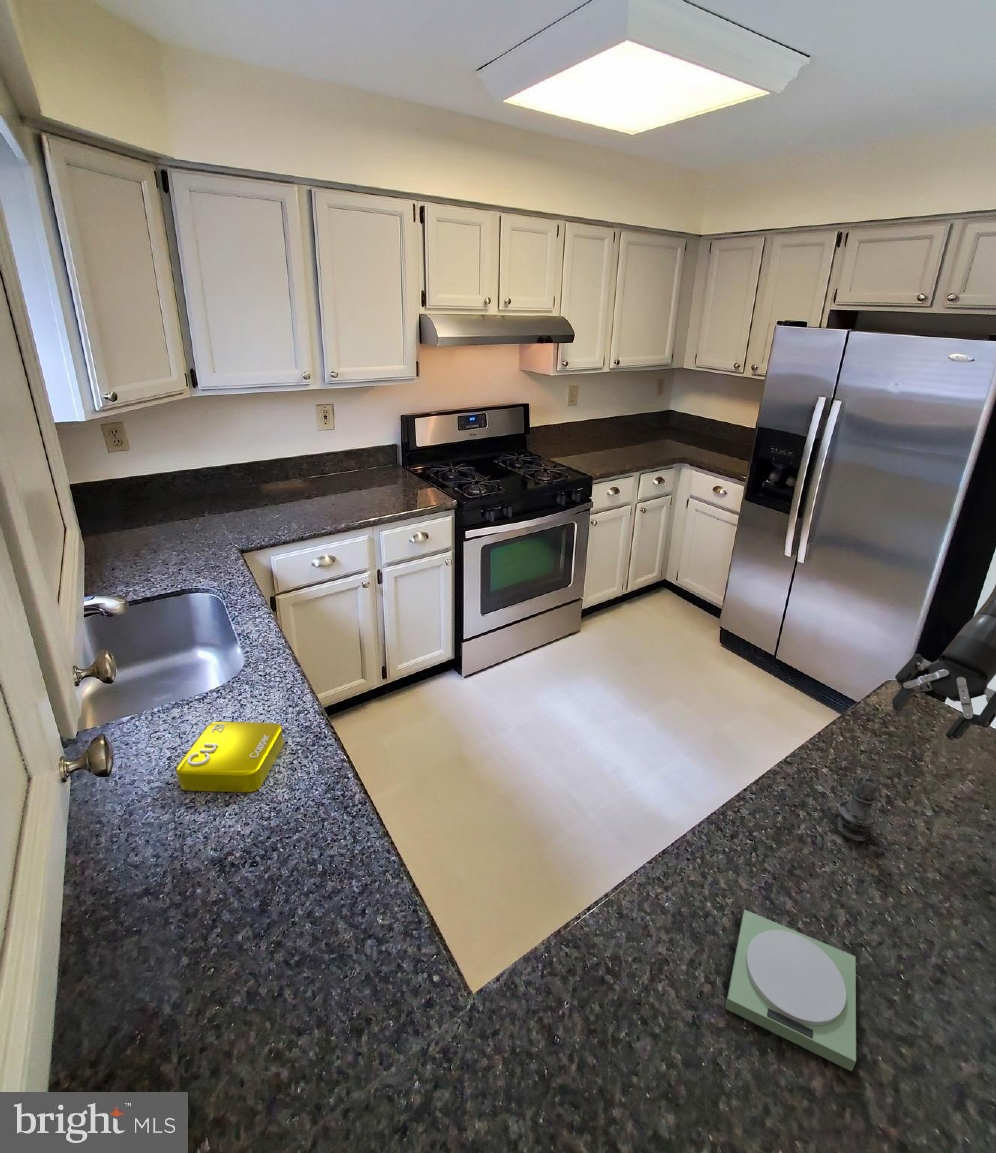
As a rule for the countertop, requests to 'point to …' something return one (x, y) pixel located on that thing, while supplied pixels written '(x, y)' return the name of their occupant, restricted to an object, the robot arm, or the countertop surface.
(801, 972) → the scale
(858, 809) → the chess piece
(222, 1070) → the countertop surface
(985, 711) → the robot arm
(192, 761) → the element tile
